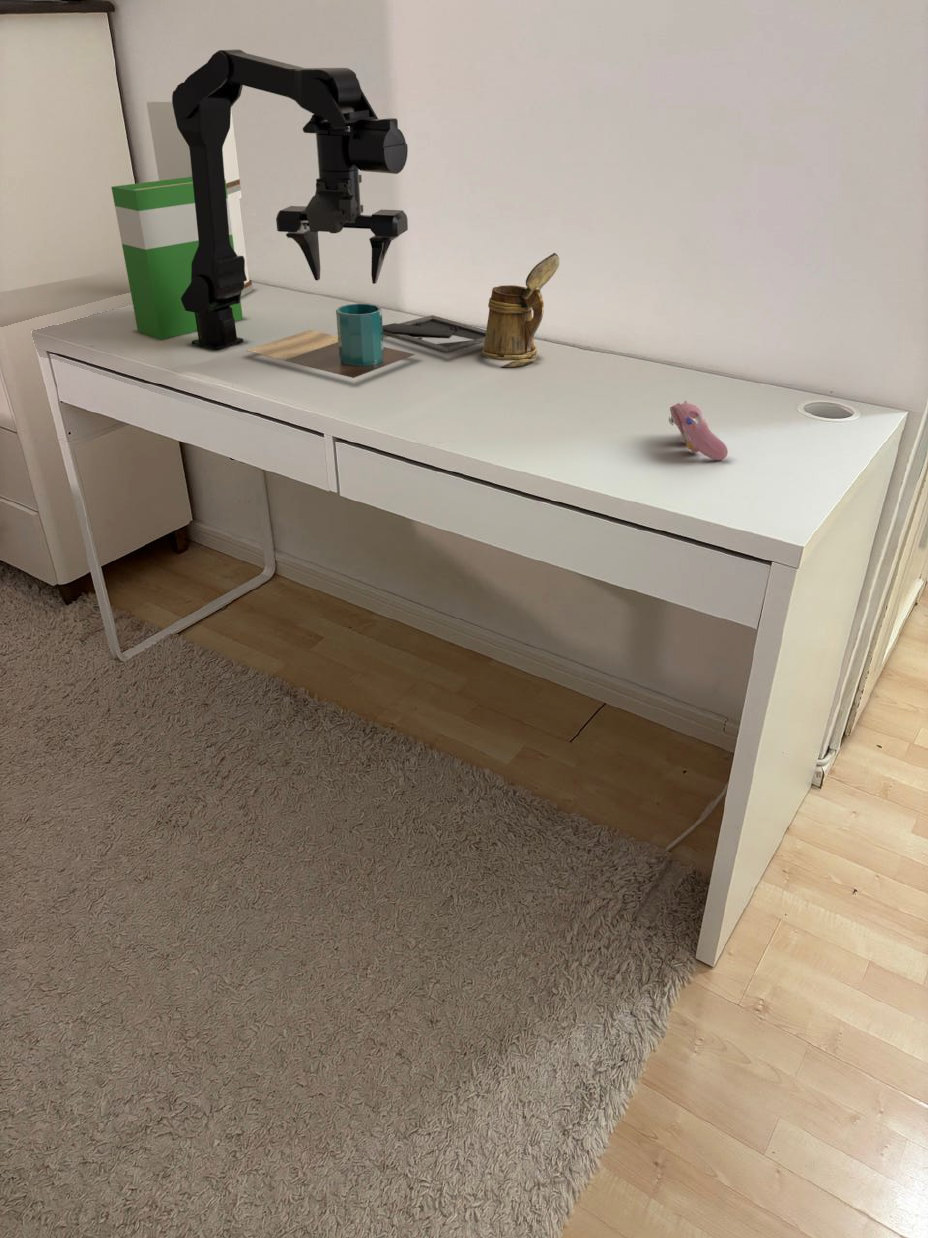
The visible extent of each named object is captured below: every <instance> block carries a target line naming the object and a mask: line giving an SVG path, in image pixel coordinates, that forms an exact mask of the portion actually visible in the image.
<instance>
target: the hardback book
mask: <svg viewBox="0 0 928 1238" xmlns="http://www.w3.org/2000/svg"><path fill="white" fill-rule="evenodd" d="M225 188H226V180H225ZM111 193H112V198H113V204H114V210H115V214H116V219H117V225H118V232H119V236H120V242H121V247H122V252H123V258H124V264H125V268H126V269H125V270H126V275H127V279H128V285H129V290H130V296H131V301H132V307H133V313H134V318H135V323H136V328H137V332H138V333H141V334H144V335H147V336H150V337H153V338H155V339H158V340H163V339H168V338H173V337H176V336H181V335H184V334H188V333H193V332H197V326H196V319H195V313H194V312H189V311H185V309H184V306H183V304H182V301H181V297H182V296H183V294H184V292H185V291H186V289H187V288H188V286H189V285H190V283H191V265H192V261H193V258H194V255H195V253H196V250H197V248H198V245H199V240H198V230H197V220H196V209H195V199H194V189H193V179H192V177H186V178H178V179H170V180H161V181H159V180H154V181H146V182H138V183H130V184H123V185H122V184H121V185H114V186H113V185H112V186H111ZM226 201H227V213H228V225H229V238H230V245H231V246H232V248H233V249H234V244H233V236H232V228H231V220H230V212H229V204H228V196H227V188H226ZM230 307H231V308H232V311H233V317H234V319H235V322H238V321H243V320H244V317H243V310H242V300H241V299H240V303H239V304H234V305H231V306H230Z"/></svg>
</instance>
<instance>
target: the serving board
mask: <svg viewBox="0 0 928 1238" xmlns="http://www.w3.org/2000/svg"><path fill="white" fill-rule="evenodd" d="M383 347H384V356H383V361H382V362H380V363H378V364H375V365H370V366H350V365H346V364H343V363H342V362H341V361H340V357H339V344H338V335H332V334H329V333H323V332H320V331H315V330H311V329H309V330H305V331H303V332H300V333H297V334H296V333H295V334H293V335H290V336H287V337H284V338H281V339H278V340H274V341H272V342H268V343H265V344H262V345H259V346H256V347H252V348H249V349H246V350H245V351H246V352H250V353H253V354H258V355H262V356H265V357H270V358H273V359H278V360H282V361H285V362H289V363H292V364H297V365H301V366H305V367H308V368H313V369H316V370H321V371H325V372H327V373H331V374H336V375H340V376H344V377H348V378H351V379H355V378H358V377H361V376H363V375H366V374H368V373H370V372H374V371H376V370H378V369H381V368H383V367H386V366H389V365H391V364H394V363H397V362H400V361H401V360H404V359H407V358H410V357H412V356H415V355H416V353H412V352H408V351H403V350H399V349H395V348H390V347H387V346H383Z"/></svg>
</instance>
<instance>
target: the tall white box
mask: <svg viewBox="0 0 928 1238" xmlns="http://www.w3.org/2000/svg"><path fill="white" fill-rule="evenodd" d="M146 108H147V114H148V120H149V127H150V132H151V139H152V145H153V151H154V159H155V164H156V171H157V176H158V181H161V180H170V179H178V178H186V177H192V169H191V159H190V150H189V146H188V144H187V143H186V141H185V139H184V138H183V136H182V134H181V133H180V131H179V130H178V128H177V123H176V119H175V114H174V109H173V104H172V101H157V100H156V101H154V100H153V101H152V100H149V101H148V100H147V101H146ZM235 137H236V136H235V128H234V119H233V111H232V109H231V119H230V129H229V132H228V134H227V137H226V139H225V142H224V144H223V149H222V152H223V164H224V176H225V180H226V188H227V196H228V204H229V212H230V220H231V228H232V236H233V244H234V251H235V253H236V254H237V256H243V257H244V260H245V275H246V278H247V281H244V289H243V290H242V291H241V297H240V298H242V297H243V296H246V295H247V294H249V293H250V292H253V290H254V289H253V281H252V279H250V278H249V269H248V260H247V252H246V243H245V235H244V228H243V218H242V211H241V210H242V209H241V202H240V201H241V200H240V199H242V197H243V195H242V189H241V188H242V187H241V179H240V178H241V177H240V172H239V162H238V161H239V160H238V152H237V147H236V146H237V145H236V138H235Z"/></svg>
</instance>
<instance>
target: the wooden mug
mask: <svg viewBox="0 0 928 1238" xmlns="http://www.w3.org/2000/svg"><path fill="white" fill-rule="evenodd" d="M559 266H560V257H559V255H558V254H557V253H556V252H553V253H551V254H550V255H549V256H547V257H545V258H544V259H542V260H541V261H540V262H538V263H537V264H536V265H535V266H534V267H533V268H532V269H531V270H530V272H529V273H528V275H527V277H526V279H525V286H520V285H515V284H513V285H498V286H493V287H492V289H491V290H492V291H491V295H490V297H489V299H488V304H487V307H488V309H489V311H488V317H487V323H486V329H485V330H486V336H485V342H484V343H483V347H482V350H481V353H482V355H483V356H484V357H486V358H489V359H493V360H498V361H510V362H508V363H506V364H503V365H501V367H502V368H517V367H519V368H520V367H525V366H528V365H530V364H533V363H534V362H535V361H536V360H537V358H538V357H537V356H538V348H537V346H535V339H534V336H535V334H536V332H537V330H538V329H539V327H540V325H541V323H542V320H543V317H544V310H545V309H544V307H545V306H544V305H545V304H544V299H543V295H542V291H541V290H542V288H543V287H545V285H546V284H547V283H548V282H549V281H550V280H551V279H552V278H553V276H554V275H555V273H557V270H558V269H559Z"/></svg>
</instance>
